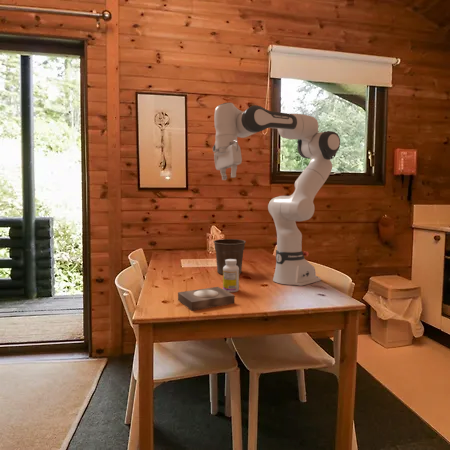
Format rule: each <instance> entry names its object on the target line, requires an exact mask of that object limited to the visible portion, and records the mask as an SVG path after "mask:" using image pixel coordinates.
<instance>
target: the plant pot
mask: <svg viewBox="0 0 450 450" xmlns="http://www.w3.org/2000/svg"><path fill="white" fill-rule="evenodd" d="M213 243H214V250H215V257H216V258H215V259H216V267H217V269H216V270H217V271H216V272H217V273H218V274H219V275H221V276H223V267H224V266H226V263H225V260H226V259H235V260H237V263H236V266H238V267H239V275H240V274H241V273H242V269H243V257H244V251H245V246H246V245H245V244H246V240H243V239H237V238H220V239H215V240H213Z"/></svg>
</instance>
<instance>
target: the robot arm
mask: <svg viewBox="0 0 450 450" xmlns="http://www.w3.org/2000/svg"><path fill="white" fill-rule="evenodd" d="M213 119H214V120H213V121H214V128H215V135H214V137H215V141H214V145H213V146H212V152H213V155H214V156H213V160H214V166H215V167H214V168H215V169H216V171H220V175H221V181H226V180H228V175H227V173H226V172H227V170H228V169H231V171H230V178H236V177H237V171H238V170H237V169H238V166H239V165H241V164H242V162H243V159H242V150H241V146H240V145H239V143H238V138H242V139H244V138H248V137H250V136H253V135H255V134H257V133H261V132H262V131H265V130H267V129H276V130H277V132H278V135H279V136H281V138H283V139H286V140H297V146H296V147H297V152H298V154H299V156H300V157H301V158H303V159H310V161H309V163H308V165H306V167H305V169H303V171H302V172H301V173H300V175H299V176H298V177H297V178H296V180H295V182H294V191H293V193H292V194H291V195H279V196H276V197H273V198H271V200H270V201H269V203H268V204H267V210H268V213H269V215H270V216H271V218H272V219H273V222H274V225H275V230H276V231H275V232H276V249H275V260H276V262H275V270H274V274H273V277H272V281H273V282H275V283H278V284H282V285H290V286H302V287H303V286H305V285H306V286H307V285H309V284H313V283H317V282H321V281H322V279H321V277H319V276H317V273H316V268H315V266H314V265H312V263H310V262H309V261H308V260H307V259H305V257H309V254H310V253H309V251H305V250H302V249H303V248H302V243H303V242H302V241H303V240H302V239H303V234H302V232H301V231H300V229H299V228H298V226H297V222H304V221H308V220H310V219H311V218H312V217H313V216H314V213H315V208H316V207H315V204H314V200H315V197H316V196H317V194H318V192H319V190H320V189H321V188H322V187H323V186H324V184H325V182H326V181H327V179H328V178H329V176H330V175H331V172H332V170H333V162H332V160H333V159H334V158H335V157H336V154H337V153H338V151H339V149H340V146H341V138H340V136H339V134H338V133H337V132H336V131H332V130H326V131H322V132H320V131H319V121H318V120H317V118H316V117H313V116H311V115H309V114H302V113H288V112H287V113H286V112H280V111H272V110H269V109H267V108H265V107H263V106H261V105H257V104H256V105H251V106H249V107H248V108H246V109H245V110H243V111H242V110H240V109H239V108H238V107H236V105H235V104H234V102H224V103H221V104H219V105H217V106H216V107H215V109H214V116H213Z"/></svg>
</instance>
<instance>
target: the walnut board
mask: <svg viewBox="0 0 450 450" xmlns="http://www.w3.org/2000/svg"><path fill="white" fill-rule="evenodd" d="M235 297H236V296H235V294H233V293H232V292H227V291H225V290H223V287H220V286H213V287H207V288H200V289H193V290H186V291H179V292H177V301H178V302H179V303H180V304H182V305H184V307H186V308H188V309H189V310H191V311H197V310H203V309H209V308H215V307H222V306H228V305H231V304H232V305H233V304H235V299H236V298H235Z"/></svg>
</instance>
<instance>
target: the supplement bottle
mask: <svg viewBox="0 0 450 450" xmlns="http://www.w3.org/2000/svg"><path fill="white" fill-rule="evenodd" d="M225 263H226V266H224V267H223V275H222V289H223V290H225V291H227V292H229V293H236V292H238V291H239V290H240V274H239V267H238V266H236V263H237V260H235V259H226V260H225Z"/></svg>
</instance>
